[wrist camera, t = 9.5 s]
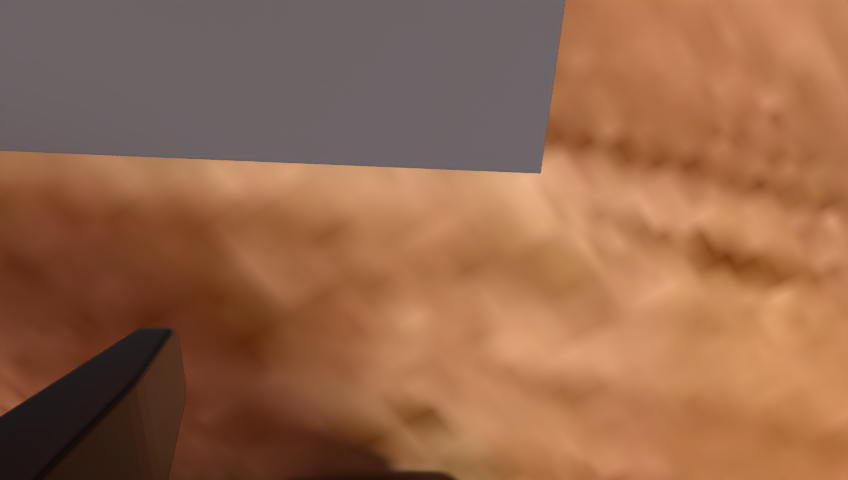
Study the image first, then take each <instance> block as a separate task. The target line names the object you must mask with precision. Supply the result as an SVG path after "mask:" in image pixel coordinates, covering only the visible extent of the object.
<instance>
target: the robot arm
mask: <svg viewBox="0 0 848 480" xmlns="http://www.w3.org/2000/svg"><path fill="white" fill-rule="evenodd" d="M185 398H186V383H185V376H184V369H183V362H182V355H181V349H180V342H179V337H178V334H177V332H176V331H175V330H174V329H173V328H139V329H138V330H136V331H134V332H133V333H131V334H129V335H128V336H126V337H125V338H123V339H122V340H120V341H118V342H117V343H115V344H114V345H112V346H111V347H109V348H107V349H106V350H104V351H103V352H101V353H100V354H98V355H96V356H95V357H93V358H92V359H90V360H89V361H87V362H85V363H84V364H82V365H81V366H79V367H78V368H76V369H74V370H73V371H71V372H70V373H68V374H67V375H65V376H63V377H62V378H60V379H59V380H57V381H56V382H54V383H52V384H51V385H49V386H48V387H46V388H45V389H43V390H42V391H40V392H38V393H37V394H35V395H34V396H32V397H31V398H29V399H27V400H26V401H24V402H23V403H21V404H20V405H18V406H16V407H15V408H13V409H12V410H10V411H9V412H7V413H5V414H4V415H2V416H1V417H0V480H168V478H169V474H170V469H171V465H172V460H173V456H174V451H175V446H176V442H177V437H178V433H179V428H180V423H181V419H182V414H183V410H184V405H185Z"/></svg>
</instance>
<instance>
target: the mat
mask: <svg viewBox="0 0 848 480" xmlns="http://www.w3.org/2000/svg"><path fill="white" fill-rule="evenodd" d="M564 7H565V0H0V151H21V152H45V153H68V154H92V155H116V156H140V157H163V158H187V159H211V160H235V161H258V162H282V163H306V164H330V165H353V166H377V167H401V168H425V169H448V170H472V171H496V172H520V173H541V166H542V159H543V152H544V145H545V138H546V131H547V124H548V117H549V111H550V104H551V97H552V90H553V83H554V76H555V69H556V62H557V55H558V48H559V41H560V34H561V27H562V21H563V14H564Z"/></svg>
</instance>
